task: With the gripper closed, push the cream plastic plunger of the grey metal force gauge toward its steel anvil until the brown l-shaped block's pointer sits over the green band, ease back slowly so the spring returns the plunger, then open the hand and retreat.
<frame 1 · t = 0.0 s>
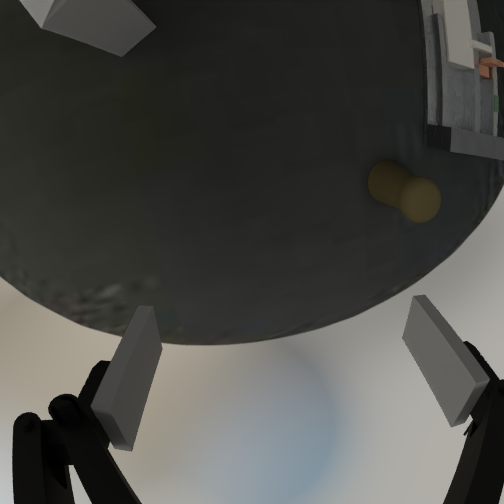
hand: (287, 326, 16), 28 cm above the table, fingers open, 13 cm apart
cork: (387, 181, 41), on the table
milk: (127, 29, 32), on the table
gauge housing: (453, 63, 33), on the table
plunger: (463, 22, 28), point 4 cm above the table, slide at 0.0 cm
brown l-shaped block: (490, 70, 30), point 4 cm above the table, slide at 1.0 cm
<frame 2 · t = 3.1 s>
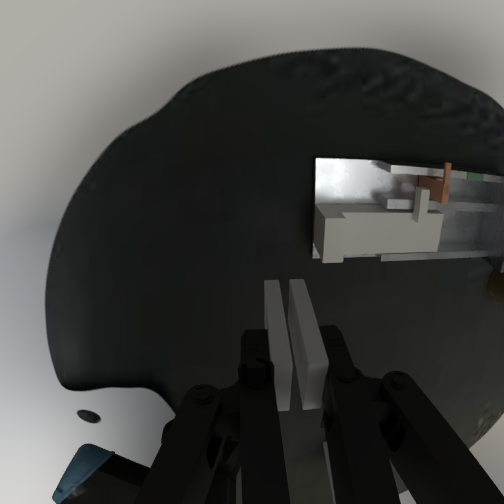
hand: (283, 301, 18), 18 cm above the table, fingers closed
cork: (500, 279, 39), on the table
gauge housing: (418, 208, 35), on the table
plunger: (385, 218, 31), point 4 cm above the table, slide at 0.0 cm
brown l-shaped block: (440, 178, 29), point 4 cm above the table, slide at 1.0 cm
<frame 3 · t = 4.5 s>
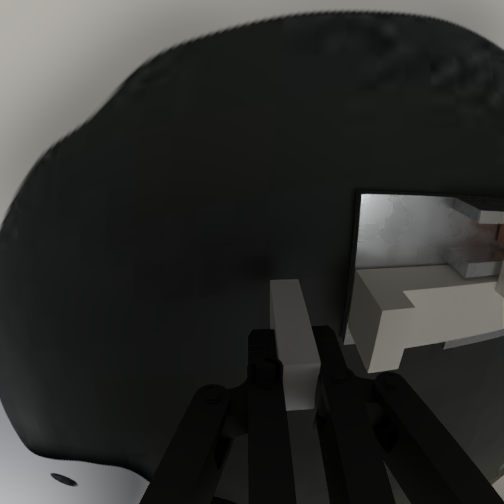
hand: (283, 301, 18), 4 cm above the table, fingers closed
gauge housing: (490, 263, 21), on the table
plunger: (459, 291, 18), point 4 cm above the table, slide at 0.0 cm
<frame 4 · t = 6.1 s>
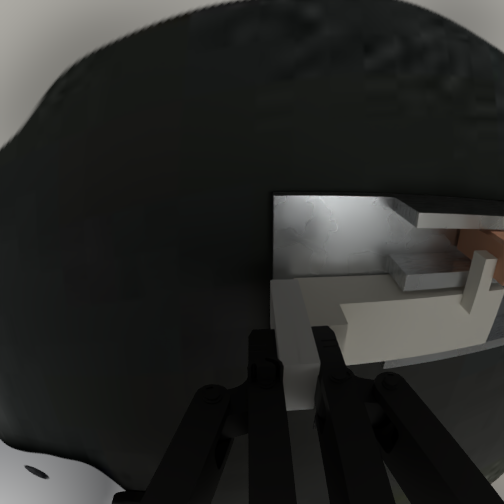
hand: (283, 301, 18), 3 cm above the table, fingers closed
gauge housing: (449, 271, 20), on the table
plunger: (415, 304, 17), point 4 cm above the table, slide at 1.2 cm, touching gripper, brown l-shaped block
brown l-shaped block: (498, 232, 15), point 4 cm above the table, slide at 1.2 cm, touching plunger
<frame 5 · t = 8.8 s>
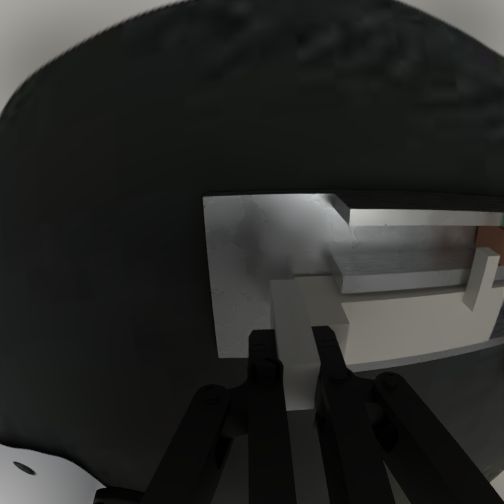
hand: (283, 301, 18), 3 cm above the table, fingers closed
gauge housing: (409, 272, 20), on the table
plunger: (417, 302, 17), point 4 cm above the table, slide at 4.9 cm, touching gripper
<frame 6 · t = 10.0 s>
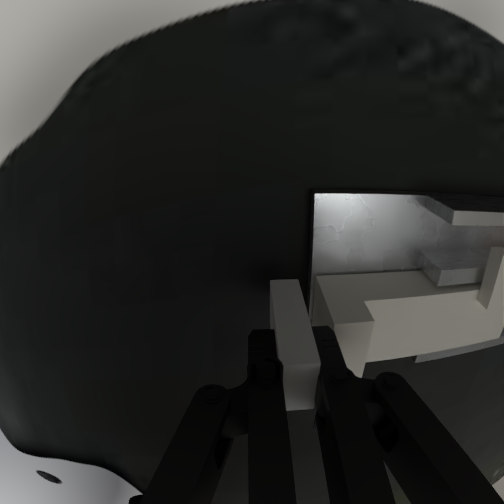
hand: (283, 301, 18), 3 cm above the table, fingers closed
gauge housing: (473, 267, 20), on the table
plunger: (435, 300, 17), point 4 cm above the table, slide at 0.2 cm
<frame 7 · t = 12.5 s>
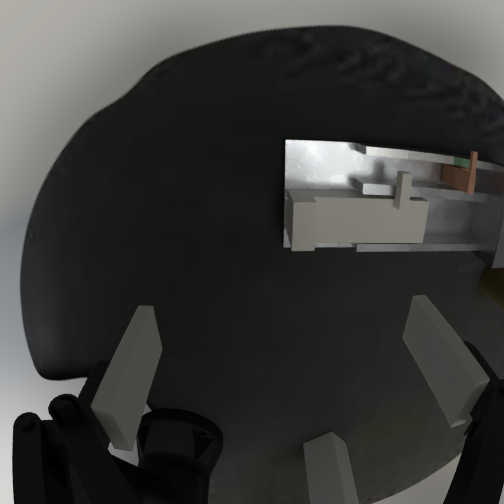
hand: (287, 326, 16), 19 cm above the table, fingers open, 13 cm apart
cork: (493, 277, 37), on the table
milk: (324, 442, 51), on the table
gauge housing: (401, 196, 33), on the table
plunger: (363, 205, 29), point 4 cm above the table, slide at 0.2 cm
brown l-shaped block: (464, 168, 27), point 4 cm above the table, slide at 6.4 cm
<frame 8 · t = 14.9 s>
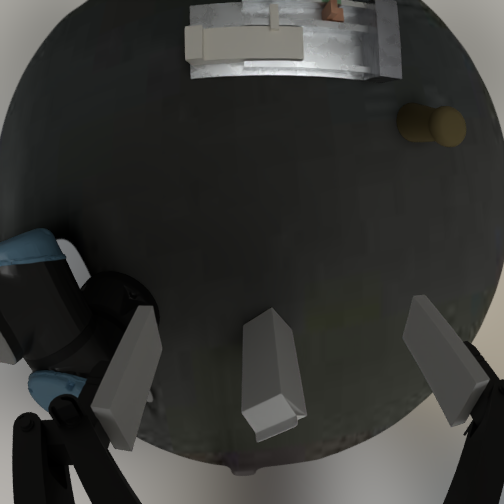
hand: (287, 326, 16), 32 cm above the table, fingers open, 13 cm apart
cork: (413, 122, 41), on the table
milk: (267, 326, 54), on the table
gauge housing: (288, 39, 36), on the table
plunger: (245, 33, 33), point 4 cm above the table, slide at 0.2 cm
brown l-shaped block: (334, 5, 31), point 4 cm above the table, slide at 6.4 cm
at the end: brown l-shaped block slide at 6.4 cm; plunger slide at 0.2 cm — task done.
